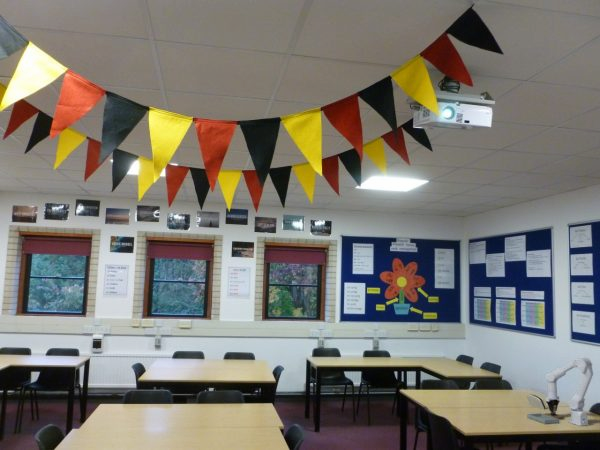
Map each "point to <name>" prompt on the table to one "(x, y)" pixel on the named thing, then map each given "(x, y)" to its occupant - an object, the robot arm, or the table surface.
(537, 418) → the tray
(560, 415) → the holder
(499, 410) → the table surface
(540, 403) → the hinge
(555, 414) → the pin
